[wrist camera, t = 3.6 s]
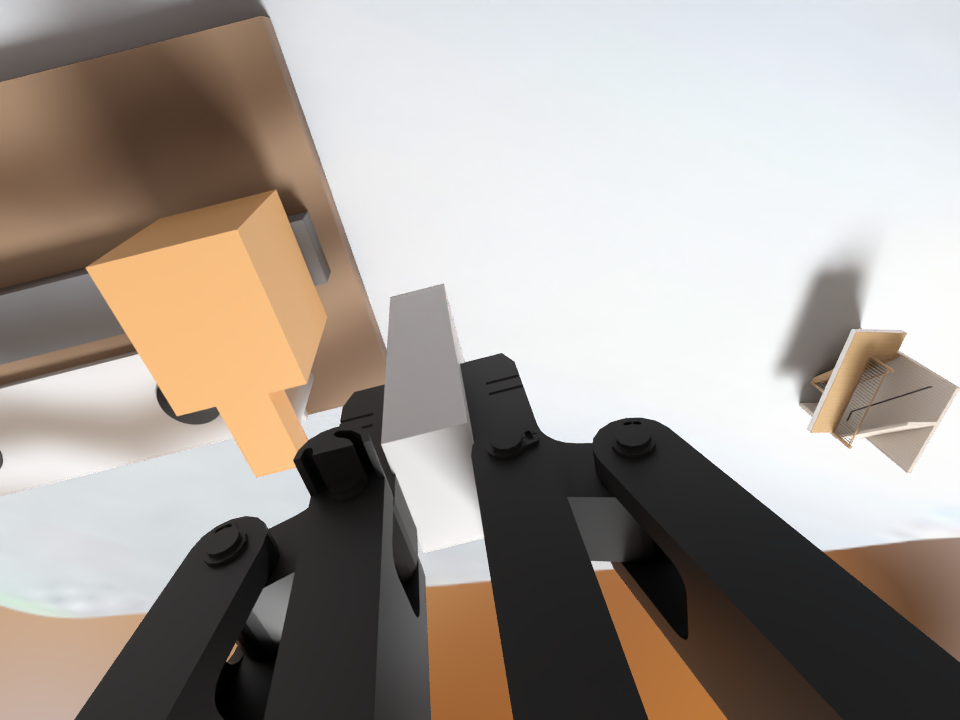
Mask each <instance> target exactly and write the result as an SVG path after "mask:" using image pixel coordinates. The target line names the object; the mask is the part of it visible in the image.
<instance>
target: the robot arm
mask: <svg viewBox="0 0 960 720" xmlns="http://www.w3.org/2000/svg"><path fill="white" fill-rule="evenodd" d="M340 421H341V424H340V426H339V427H335V428H332V429H329V430H327V431H324V432H321V433H320V434H318V435H316V436H315V437H313V438H311V439H310V440H308V441H307V442H306V443H305V444H304V445H303V446H302V447H301V448H300V449H299V450H298V452H297V453H296V455H295V457H294V459H293V462H294V464H295V466H296V468H297V470H298V472H299V473H300V475H301V477H302V479H303V481H304V483H305V485H306V487H307V489H308V491H309V493H310V495H311V499H310V503H309V507H308V508H307V509H306V510H305V511H303V512H301V513H299V514H298V515H296V516H294V517H292V518H290V519H288V520H286V521H284V522H282V523H280V524H278V525H276V526H274V527H272V528H270V529H268V528H267V526H266V524H265V523H264V522H263V521H261V520H260V519H259V518H257V517H248V516H245V517H240V518H236V519H231V520H229V521H227V522H225V523H223V524H221V525H219V526H217V527H215V528H214V529H212V530H211V531H210V532H208V533H207V534H206V535H204V536H203V537H202V538H201V539H200V540H199V541H198V542H197V544H196V545H195V546H194V547H193V548H192V549H191V551H190V552H189V553H188V555H187V556H186V558H185V559H184V561H183V562H182V564H181V565H180V567H179V568H178V569H177V571H176V572H175V574H174V575H173V577H172V578H171V580H170V581H169V583H168V584H167V586H166V587H165V588H164V590H163V591H162V593H161V594H160V596H159V597H158V599H157V600H156V602H155V603H154V604H153V606H152V607H151V609H150V610H149V612H148V613H147V615H146V616H145V618H144V619H143V621H142V622H141V623H140V625H139V626H138V628H137V629H136V631H135V632H134V634H133V635H132V637H131V638H130V640H129V641H128V642H127V644H126V645H125V647H124V648H123V650H122V651H121V653H120V654H119V656H118V657H117V658H116V660H115V661H114V663H113V664H112V666H111V667H110V669H109V670H108V671H107V673H106V675H105V676H104V677H103V679H102V681H101V682H100V683H99V685H98V686H97V688H96V689H95V691H94V692H93V693H92V695H91V696H90V698H89V699H88V701H87V702H86V704H85V705H84V706H83V708H82V709H81V711H80V712H79V714H78V715H77V717H76V718H75V720H431V706H430V682H429V658H428V634H427V609H426V585H425V574H424V571H423V568H422V565H421V562H420V560H419V557H418V544H417V537H418V540H419V542H420V545H421V547H422V550H423V552H424V553H427V552H431V551H435V550H439V549H443V548H447V547H450V546H454V545H458V544H462V543H466V542H470V541H474V540H478V539H482V538H484V539H485V546H486V552H487V558H488V564H489V570H490V577H491V583H492V589H493V595H494V601H495V607H496V613H497V619H498V626H499V633H500V639H501V645H502V651H503V657H504V664H505V670H506V676H507V682H508V688H509V695H510V701H511V707H512V713H513V719H514V720H648V717H647V714H646V712H645V709H644V706H643V703H642V701H641V698H640V695H639V693H638V690H637V687H636V685H635V682H634V679H633V676H632V673H631V671H630V668H629V665H628V663H627V660H626V657H625V654H624V652H623V649H622V646H621V643H620V641H619V638H618V635H617V632H616V630H615V627H614V624H613V621H612V619H611V616H610V613H609V610H608V608H607V605H606V602H605V600H604V597H603V594H602V591H601V588H600V586H599V583H598V580H597V578H596V575H595V572H594V569H593V567H592V564H591V561H611V564H612V566H613V568H614V569H615V570H616V572H617V573H618V575H619V576H620V577H621V579H622V580H623V581H624V582H625V584H626V585H627V586H628V588H629V589H630V590H631V592H632V593H633V594H634V596H635V597H636V598H637V600H638V601H639V602H640V603H641V605H642V606H643V608H644V609H645V610H646V611H647V613H648V614H649V615H650V617H651V618H652V620H653V621H654V622H655V624H656V625H657V626H658V627H659V629H660V630H661V631H662V633H663V634H664V636H665V637H666V638H667V639H668V641H669V642H670V643H671V645H672V646H673V647H674V649H675V650H676V651H677V653H678V654H679V655H680V657H681V658H682V659H683V661H684V662H685V663H686V665H687V666H688V667H689V668H690V670H691V671H692V673H693V674H694V675H695V677H696V678H697V679H698V681H699V682H700V683H701V684H702V686H703V687H704V688H705V690H706V691H707V692H708V694H709V695H710V696H711V698H712V699H713V700H714V702H715V703H716V704H717V706H718V707H719V708H720V710H721V711H722V712H723V714H724V715H725V716H726V717H727V719H728V720H960V662H958V661H957V660H956V659H955V658H954V657H952V656H951V655H950V654H949V653H947V652H946V651H945V650H944V649H943V648H941V647H940V646H939V645H938V644H936V643H935V642H934V641H933V640H931V639H930V638H929V637H927V636H926V635H925V634H924V633H923V632H921V631H920V630H919V629H918V628H916V627H915V626H914V625H913V624H911V623H910V622H909V621H908V620H906V619H905V618H904V617H903V616H902V615H900V614H899V613H898V612H896V611H895V610H894V609H893V608H892V607H890V606H889V605H888V604H887V603H885V602H884V601H883V600H882V599H880V598H879V597H878V596H877V595H875V594H874V593H873V592H872V591H871V590H869V589H868V588H867V587H866V586H864V585H863V584H862V583H860V582H859V581H858V580H857V579H856V578H854V577H853V576H852V575H850V574H849V573H848V572H847V571H846V570H844V569H843V568H842V567H841V566H839V565H838V564H837V563H836V562H835V561H833V560H832V559H831V558H830V557H828V556H827V555H826V554H825V553H823V552H822V551H821V550H820V549H818V548H817V547H816V546H815V545H813V544H812V543H811V542H810V541H809V540H807V539H806V538H805V537H804V536H802V535H801V534H800V533H799V532H797V531H796V530H795V529H794V528H792V527H791V526H790V525H789V524H787V523H786V522H785V521H784V520H782V519H781V518H780V517H779V516H778V515H776V514H775V513H774V512H773V511H771V510H770V509H769V508H768V507H766V506H765V505H764V504H763V503H761V502H760V501H759V500H758V499H756V498H755V497H754V496H753V495H751V494H750V493H749V492H748V491H746V490H745V489H744V488H743V487H742V486H740V485H739V484H738V483H737V482H735V481H734V480H733V479H732V478H730V477H729V476H728V475H727V474H725V473H724V472H723V471H722V470H720V469H719V468H718V467H717V466H715V465H714V464H713V463H712V462H711V461H709V460H708V459H707V458H706V457H704V456H703V455H702V454H701V453H699V452H698V451H697V450H696V449H694V448H693V447H692V446H691V445H689V444H688V443H687V442H686V441H684V440H683V439H682V438H681V437H679V436H678V435H677V434H676V433H675V432H673V431H672V430H671V429H670V428H668V427H667V426H665V425H663V424H661V423H659V422H657V421H654V420H650V419H645V418H625V419H621V420H617V421H614V422H611V423H609V424H608V425H606V426H604V427H603V428H601V429H600V430H599V431H598V433H597V434H596V436H595V437H594V438H593V443H565V442H561V441H556V440H554V439H552V438H550V437H548V436H546V435H545V434H544V433H543V432H541V431H540V429H539V427H538V425H537V423H536V420H535V418H534V415H533V412H532V409H531V406H530V404H529V401H528V398H527V395H526V393H525V390H524V387H523V384H522V381H521V379H520V377H519V373H518V370H517V368H516V365H515V362H514V361H512V360H511V359H510V358H508V357H507V356H505V355H504V354H502V353H501V354H497V355H493V356H489V357H485V358H481V359H477V360H473V361H469V362H465V361H464V357H463V353H462V350H461V346H460V342H459V338H458V335H457V331H456V327H455V324H454V320H453V316H452V313H451V309H450V305H449V301H448V298H447V294H446V290H445V287H444V284H440V285H436V286H433V287H429V288H425V289H421V290H417V291H413V292H409V293H405V294H401V295H397V296H393V297H390V312H389V328H388V343H387V359H386V375H385V384H384V385H380V386H376V387H372V388H368V389H364V390H360V391H356V392H354V393H353V394H352V395H351V397H350V398H349V399H348V401H347V402H346V403H345V405H344V406H343V409H342V415H341V420H340ZM235 643H236V644H237V645H238V646H237V648H236V650H235V652H234V654H233V655H232V656H231V658H230V659H229V661H228V662H226V660H227V658H228V656H229V654H230V652H231V650H232V648H233V647H234V645H235Z"/></svg>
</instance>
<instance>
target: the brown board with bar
mask: <svg viewBox="0 0 960 720" xmlns="http://www.w3.org/2000/svg"><path fill="white" fill-rule="evenodd" d="M275 189H276V190H277V193H278V195H279V198H280V200H281V203H282V205H283V208H284V210H285V213H286V215H287V218H288V220H289V223H290V225H291V228H292V230H293V233H294V235H295V238H296V240H297V243H298V245H299V248H300V250H301V253H302V255H303V258H304V260H305V263H306V265H307V268H308V270H309V273H310V275H311V278H312V280H313V283H314V285H315V288H316V290H317V293H318V295H319V298H320V300H321V303H322V305H323V308H324V310H325V313H326V315H327V319H326V323H325V326H324V329H323V332H322V336H321V339H320V342H319V346H318V349H317V352H316V355H315V359H314V362H313V365H312V369H311V372H312V374H313V377H314V380H313V383H312V387H311V390H310V394H309V397H308V401H307V404H306V408H305V411H304V414H303V418H302V421H305V420H307V417H308V415H309V414H313V413H317V412H321V411H325V410H329V409H333V408H337V407H341V406H344V405H345V403H346V402H347V401H348V399H349V398H350V397H351V395H352V394H353V393H354V392H356V391H360V390H364V389H368V388H372V387H376V386H380V385H384V384H385V375H386V359H387V350H386V347H385V344H384V342H383V339H382V336H381V333H380V330H379V327H378V325H377V322H376V319H375V316H374V313H373V310H372V307H371V305H370V302H369V299H368V296H367V293H366V290H365V287H364V285H363V282H362V279H361V276H360V273H359V270H358V267H357V265H356V262H355V259H354V256H353V253H352V250H351V247H350V245H349V242H348V239H347V236H346V233H345V230H344V227H343V225H342V222H341V219H340V216H339V213H338V210H337V208H336V205H335V202H334V199H333V196H332V193H331V190H330V188H329V185H328V182H327V179H326V176H325V173H324V170H323V168H322V165H321V162H320V159H319V156H318V153H317V150H316V148H315V145H314V142H313V139H312V136H311V133H310V130H309V128H308V125H307V122H306V119H305V116H304V113H303V110H302V108H301V105H300V102H299V99H298V96H297V93H296V90H295V88H294V85H293V82H292V79H291V76H290V73H289V71H288V68H287V65H286V62H285V59H284V56H283V53H282V51H281V48H280V45H279V42H278V39H277V36H276V33H275V31H274V28H273V25H272V22H271V19H270V18H268V17H265V16H258V17H254V18H250V19H247V20H243V21H239V22H235V23H231V24H227V25H223V26H219V27H215V28H211V29H207V30H203V31H199V32H195V33H191V34H188V35H184V36H180V37H176V38H172V39H168V40H164V41H160V42H156V43H152V44H148V45H144V46H140V47H136V48H132V49H129V50H125V51H121V52H117V53H113V54H109V55H105V56H101V57H97V58H93V59H89V60H85V61H81V62H77V63H73V64H70V65H66V66H62V67H58V68H54V69H50V70H46V71H42V72H38V73H34V74H30V75H26V76H22V77H18V78H14V79H10V80H7V81H3V82H0V496H4V495H8V494H12V493H16V492H20V491H24V490H28V489H32V488H36V487H40V486H44V485H48V484H52V483H56V482H60V481H64V480H68V479H72V478H76V477H80V476H84V475H88V474H92V473H96V472H100V471H104V470H108V469H112V468H116V467H120V466H124V465H128V464H132V463H136V462H140V461H144V460H148V459H152V458H156V457H160V456H164V455H168V454H172V453H176V452H180V451H184V450H188V449H192V448H196V447H200V446H204V445H208V444H212V443H216V442H220V441H224V440H228V439H232V438H233V436H232V434H231V432H230V431H229V429H228V427H227V425H226V423H225V422H224V420H223V418H222V416H221V415H220V413H219V411H218V409H217V408H216V407H212V408H208V409H204V410H200V411H196V412H192V413H188V414H184V415H180V416H177V415H176V414H175V412H174V411H173V409H172V407H171V406H170V404H169V402H168V401H167V399H166V398H165V396H164V394H163V393H162V391H161V389H160V388H159V386H158V385H157V383H156V381H155V380H154V378H153V376H152V375H151V373H150V372H149V370H148V368H147V367H146V365H145V364H144V362H143V360H142V359H141V357H140V355H139V354H138V352H137V351H136V349H135V347H134V346H133V344H132V342H131V341H130V339H129V338H128V336H127V334H126V333H125V331H124V330H123V328H122V326H121V325H120V323H119V321H118V320H117V318H116V317H115V315H114V313H113V312H112V310H111V308H110V307H109V305H108V304H107V302H106V300H105V299H104V297H103V296H102V294H101V292H100V291H99V289H98V287H97V286H96V284H95V283H94V281H93V279H92V278H91V276H90V274H89V273H88V271H87V270H86V267H87V266H89V265H90V264H92V263H93V262H95V261H96V260H98V259H99V258H101V257H102V256H104V255H105V254H107V253H108V252H110V251H111V250H113V249H114V248H116V247H117V246H119V245H120V244H122V243H123V242H125V241H126V240H128V239H129V238H131V237H132V236H134V235H135V234H137V233H139V232H140V231H142V230H143V229H145V228H146V227H148V226H149V225H151V224H152V223H154V222H155V221H157V220H158V219H160V218H164V217H168V216H172V215H176V214H180V213H184V212H188V211H192V210H196V209H200V208H204V207H208V206H212V205H216V204H220V203H224V202H228V201H232V200H236V199H240V198H244V197H248V196H252V195H256V194H260V193H264V192H268V191H271V190H275Z"/></svg>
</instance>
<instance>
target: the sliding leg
mask: <svg viewBox="0 0 960 720" xmlns="http://www.w3.org/2000/svg"><path fill="white" fill-rule="evenodd" d="M86 270H87V271H88V273H89V274H90V276H91V278H92V279H93V281H94V283H95V284H96V286H97V287H98V289H99V291H100V292H101V294H102V296H103V297H104V299H105V300H106V302H107V304H108V305H109V307H110V308H111V310H112V312H113V313H114V315H115V317H116V318H117V320H118V321H119V323H120V325H121V326H122V328H123V330H124V331H125V333H126V334H127V336H128V338H129V339H130V341H131V342H132V344H133V346H134V347H135V349H136V351H137V352H138V354H139V355H140V357H141V359H142V360H143V362H144V364H145V365H146V367H147V368H148V370H149V372H150V373H151V375H152V376H153V378H154V380H155V381H156V383H157V385H158V386H159V388H160V389H161V391H162V393H163V394H164V396H165V398H166V399H167V401H168V402H169V404H170V406H171V407H172V409H173V411H174V412H175V414H176V415H177V416H180V415H184V414H188V413H192V412H196V411H200V410H204V409H208V408H212V407H216V408H217V409H218V411H219V413H220V415H221V416H222V418H223V420H224V422H225V423H226V425H227V427H228V429H229V431H230V432H231V434H232V436H233V438H234V439H235V441H236V443H237V445H238V446H239V448H240V450H241V452H242V453H243V455H244V457H245V459H246V461H247V462H248V464H249V466H250V468H251V469H252V471H253V473H254V475H255V476H256V477H260V476H264V475H268V474H272V473H276V472H280V471H284V470H288V469H292V468H296V466H295V464H294V462H293V459H294V457H295V455H296V453H297V452H298V450H299V449H300V448H301V447H302V446H303V445H304V444H305V443H306V442H307V441H308V439H307V437H306V434H305V432H304V430H303V428H302V426H301V421H302V418H303V414H304V411H305V408H306V404H307V401H308V397H309V394H310V390H311V387H312V383H313V380H314V377H313V374H312V372H311V369H312V365H313V362H314V359H315V355H316V352H317V349H318V346H319V342H320V339H321V336H322V332H323V329H324V326H325V323H326V319H327V315H326V313H325V310H324V308H323V305H322V303H321V300H320V298H319V295H318V293H317V290H316V288H315V285H314V283H313V280H312V278H311V275H310V273H309V270H308V268H307V265H306V263H305V260H304V258H303V255H302V253H301V250H300V248H299V245H298V243H297V240H296V238H295V235H294V233H293V230H292V228H291V225H290V223H289V220H288V218H287V215H286V213H285V210H284V208H283V205H282V203H281V200H280V198H279V195H278V193H277V190H276V189H275V190H271V191H268V192H264V193H260V194H256V195H252V196H248V197H244V198H240V199H236V200H232V201H228V202H224V203H220V204H216V205H212V206H208V207H204V208H200V209H196V210H192V211H188V212H184V213H180V214H176V215H172V216H168V217H164V218H160V219H158V220H157V221H155V222H154V223H152V224H151V225H149V226H148V227H146V228H145V229H143V230H142V231H140V232H139V233H137V234H135V235H134V236H132V237H131V238H129V239H128V240H126V241H125V242H123V243H122V244H120V245H119V246H117V247H116V248H114V249H113V250H111V251H110V252H108V253H107V254H105V255H104V256H102V257H101V258H99V259H98V260H96V261H95V262H93V263H92V264H90V265H89V266H87V267H86Z"/></svg>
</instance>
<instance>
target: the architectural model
mask: <svg viewBox="0 0 960 720" xmlns="http://www.w3.org/2000/svg"><path fill="white" fill-rule="evenodd" d="M906 334H907V333H906V332H904V331H902V330H868V329H862V328H857V329H852V330H851V332H850V334H849V336H848V339H847V341H846V343H845V345H844V347H843V350H842V352H841V354H840V356H839V359H838V361H837V363H836V365H835V367H834V369H832V370H830V371H828V372H825V373H823V374H821V375H818V376H816V377H814V378H813V380H812V381H811V384H812V385H814V386H815V387H816V388H817V389H819V390H820V391H821V392H822V393H823V394H822V396H821V399H820V401H819V403H800V405H799V406H801V407H802V408H803V409H804V410H805V411H806V412H807V413H808V414H809V415H811V416H812V419H811V421H810V423H809V425H808V428H807V429H808V430H809V431H810V432H811V433H823V432H830V433H831V434H832V435H833V436H834V437H835V438H838V439H839V440H840V441H841V442H842V443H843V444H844V445H845V446H847V447H848V448H849V449H851V448H852V446H851V444H852V442H853V440H854V438H866V439H867V440H868V441H870V442H871V443H872V444H873V445H874V446H876V447H877V448H878V449H879V450H880V451H882V452H883V453H884V454H885V455H886V456H888V457H889V458H890V459H891V460H892V461H893V462H895V463H896V464H897V465H898V466H899V467H901V468H902V469H903V470H904V471H905V472H907V473H911V471H912V469H913V468H914V466H915V464H916V463H917V461H918V459H919V457H920V456H921V454H922V452H923V451H924V449H925V447H926V446H927V444H928V442H929V440H930V439H931V437H932V435H933V434H934V432H935V430H936V429H937V427H938V425H939V423H940V422H941V420H942V418H943V417H944V415H945V413H946V412H947V410H948V408H949V406H950V405H951V403H952V401H953V400H954V398H955V396H956V395H957V393H958V391H959V389H960V388H959V387H957V386H956V385H954V384H952V383H951V382H949V381H948V380H946V379H944V378H943V377H941V376H939V375H938V374H936V373H934V372H933V371H931V370H929V369H928V368H926V367H924V366H923V365H921V364H919V363H918V362H916V361H914V360H913V359H911V358H910V357H908V356H906V355H905V354H903V353H901V352H900V351H898V350H899V348H900V346H901V344H902V342H903V340H904V338H905V336H906ZM842 337H843V336H842ZM816 383H818V384H819V383H822V384H823V383H826V384H827V385H825V386H826V388H825V390H824V389H822V388H821V387H820V386H819V385H817V384H816ZM821 386H822V385H821ZM822 387H823V386H822ZM823 388H824V387H823ZM850 425H851V426H850ZM843 438H845V439H846V438H852V439H850V440H851V441H850V442H849V441H848V440H847V439H846V440H847V441H848V442H849V444H848V443H847V442H846V441H845V440H844V439H843Z"/></svg>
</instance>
